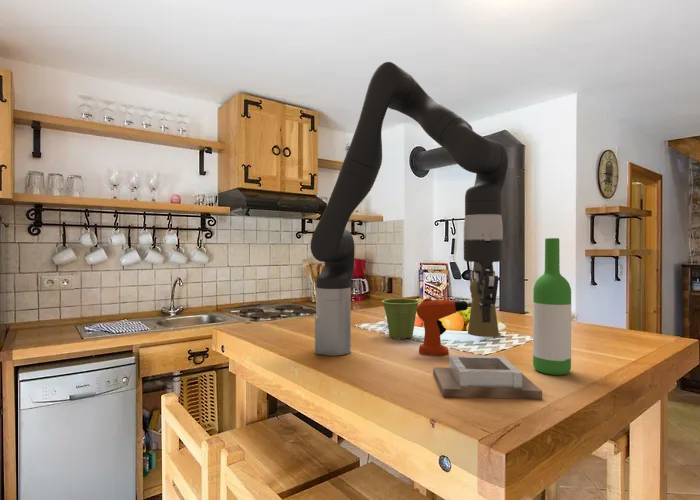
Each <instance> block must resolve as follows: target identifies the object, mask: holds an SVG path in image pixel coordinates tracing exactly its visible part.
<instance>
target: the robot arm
mask: <svg viewBox="0 0 700 500" xmlns="http://www.w3.org/2000/svg"><path fill="white" fill-rule="evenodd" d="M388 108H389V109H390V110H394V111H397V112H399V113H401V114H403V115H405V116H407V117H410V118H411V119H413V120H414V121H415V122H416V123H417V124H418V125H420V127H421V128H422V129H423V131H424V132H425V133H426V134H427V135H428V137H430V138H431V139H432V140H433V141H434V142H436V143H437V144H438V145H439V146H441V147H442V148H443V149H445V150H446V152H447V153H448V155H449V156H450V157H451V158H452V159H453V161H454V162H455V163H456V164H457V165H458V166H459V167H461V168H462V169H463V170H465V171H467V172H470V173H472V174H475V182H474V185H472V186H471V187H469V188H468V189H467V190H466V191H465V193H464V194H465V195H464V222H463V260H464V262H470V263H472V262H473V267H472V270H471V271H469V274H468V275H469V283H470V284H471V282H472V281H473V280H475V281H476V284H477V294H479V306H482V317H483V323H484V322H489V323H490V307H491V306H493V304H495V305H496V302H497V294H498V287H499V286H498V285H499V279H500V278H499V276H498V275H496V271H494V265H493V264H494V263H499V262H502V261H503V256H504V254H503V252H504V251H503V249H504V248H503V247H504V244H503V241H504V240H503V239H504V238H503V234H504V233H503V232H504V230H503V229H504V228H503V221H502V220H503V218H502V192H503V189H504V185H505V183H506V182H505V181H506V176H507V172H508V165H509V160H508V159H509V158H508V153H507V150H506V148H505V146H504V145H503V144H502V143H500V142H499V141H496V140H493V139H489V138H487V137H484V136H482V135H480V134H479V133H477V132H475V131H474V130H473V127H472V126H471V124H470V123H469V122H468V121H467V120H465V119H464V118H462V117H461V116H460V115H458V114H457V113H455V112H454V111H453V110H452V109H450V108H448V107H447V106H445V105H443V104H441V103H439V102H438V101H436V100H435V99H434V98H432V97H431V96H430V95H429V94H428V93H427V92H426V91H425V90H424V88H422V86H421V85H420V83H419V82H418V81H417V80H416V79H415V78H414V77H413V75H412V74H411V73H409V72H408V71H406V70H405V69H403V68H402V67H401V66H399V65H398V64H396V63H394V62H392V61H385V62H383V63H381V64H380V65H379V66H378V67H377V68H376V69H375V71H374V72H373V73H372V76H371V78H370V80H369V83H368V87H367V90H366V92H365V97H364V101H363V104H362V107H361V111H360V115H359V119H358V122H357V125H356V128H355V129H354V130H355V131H354V133H353V136H352V140H351V142H350V145H349V147H348V149H347V152H346V154H345V157H344V160H343V162H342V165H341V167H340V170H339V173H338V176H337V179H336V182H335V184H334V187H333V189H332V193H331V194H330V198H329V200H328V201H327V204H326V207H325V209H324V211H323V213H322V216H321V217H320V220H319V221H318V223H317V225H316V227H315V229H314V231H313V234H312V236H311V240H310V253H311V254H312V257H313V258H314V259H315V260H317V261H318V262H320V263H321V262H322V263H324V266H323V267H324V268H323V269H322V272H321V273H320V274H319V275H318V276H317V277H316V279H315V280H316V281H315V282H316V284H315V287H316V289H315V291H316V294H315V297H316V298H315V302H316V303H315V307H316V308H315V310H316V312H315V314H316V315H315V317H314V354H316V355H323V356H342V355H347V354H349V353H351V351H352V350H351V349H352V347H351V345H352V342H351V339H352V337H351V336H352V335H351V334H352V328H351V326H352V322H351V321H352V319H351V318H352V316H351V315H352V305H351V302H352V301H351V299H352V297H351V295H352V294H351V293H352V289H351V286H352V285H351V284H352V279H353V278H354V272H355V271H354V270H355V252H356V250H355V241H354V237H353V235H352V233H351V232H350V231H349V229H346V227H347V225H348V222H349V220H350V218H351V217H352V214H353V213H354V211H355V210H356V209H357V208H358V206H359V205H360V204H361V203H362V202H363V200H365V199H366V197H367V196H368V194H369V193H370V191H371V190H372V188H373V186H374V184H375V182H376V179H377V177H378V174H379V173H380V172H379V171H380V170H381V166H382V162H383V142H382V131H383V130H382V129H383V123H384V119H385V116H386V114H387V111H388ZM470 284H469V285H470ZM480 284H481V285H483V289H482V291H481V290H480ZM486 294H489V295H490V296H489V298H486ZM470 297H471V298H472V297H473V295H472V294H471V293H470ZM486 309H487V311H486ZM480 310H481V307H480ZM486 314H487V315H486ZM486 318H487V319H486Z"/></svg>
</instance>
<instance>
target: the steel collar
mask: <svg viewBox="0 0 700 500" xmlns="http://www.w3.org/2000/svg"><path fill="white" fill-rule="evenodd" d="M448 355H449V356H448V357H449V359H448V361H449V363H448V368H449V369H450V371H451V373H452V375H453V376H454V378H455V380H456V381H457V383H458V385H459V386H460V387H464V388H468V387H484V388H514V389H522V374H523V372H522V371H521V370H520V369H518V368H517V367H516V366H515V365H513V363H511V362H510V360H508V359H507V358H506V357H505V356H503V355H455V354H453V355H451V354H448Z"/></svg>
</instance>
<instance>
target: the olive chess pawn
mask: <svg viewBox="0 0 700 500" xmlns="http://www.w3.org/2000/svg"><path fill="white" fill-rule="evenodd" d="M482 289H483V285H481V284H480V290H481V291H482ZM469 291H470V295H471V294H472V295H473V297H471V303H472V305H471V307H470V313H469V319H468V320H469V322H468V326H467V327H468V329H467V334H468V335H471V336H474V337H481V338H495V337H498V336H499V335H500V332H499V324H498V318H497V309H496V303H495V304H493V306H491V307H490V323H489V322H484V323H483V317H482V306H479V294H477V284H476V281H475V280H473V281H472V282H471V284H469ZM489 296H490V295H489V294H486V298H489ZM480 307H481V310H480ZM486 311H487V309H486ZM486 315H487V314H486ZM486 319H487V318H486Z"/></svg>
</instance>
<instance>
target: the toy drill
mask: <svg viewBox="0 0 700 500" xmlns="http://www.w3.org/2000/svg"><path fill="white" fill-rule="evenodd" d="M471 305H472V302H467V301H466V300H461V301H460V300H450V299H448V298H447V299H446V298H443V299H441V300H440V299H438V298H437V299H432V298H429V297H428V298H424V299H423V300H422V301H420V303H418V306H417V309H416V315H417V317H418V318H419V319H420V320H421V321H422V322H423V327H424V338H423V343H421V344H420V345H419V346H418V353H419V354H421V355H424V356H448V355H449V348H448V347H446V346H444V345H443V344H442V342H441V335H443V334H444V333H445V332H447V328H446V327H444V325H443V321H442V320H441V319H443V318H446V317H448V316H452V315H453V314H456V313H457V312H458V313H459V312H461V311H462V312H463V311H467V310H468V309H469V308H471Z"/></svg>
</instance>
